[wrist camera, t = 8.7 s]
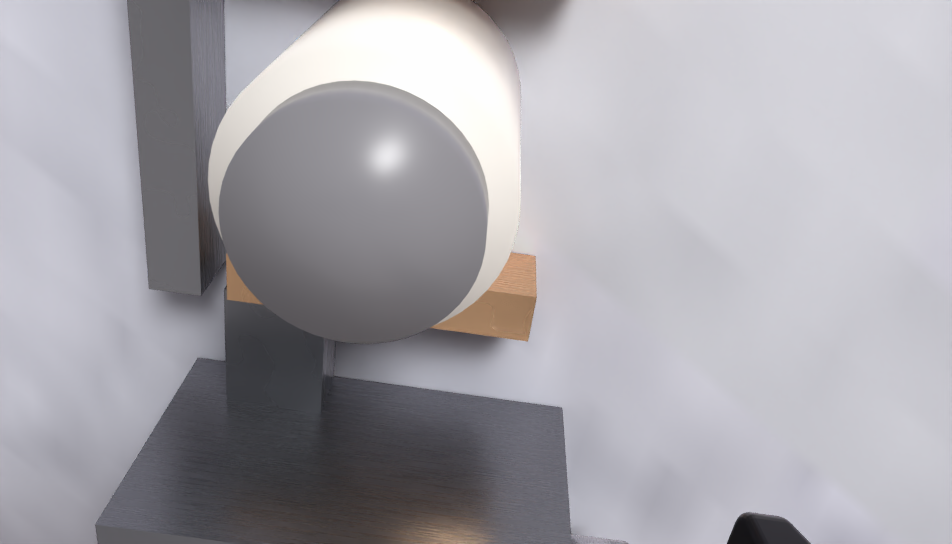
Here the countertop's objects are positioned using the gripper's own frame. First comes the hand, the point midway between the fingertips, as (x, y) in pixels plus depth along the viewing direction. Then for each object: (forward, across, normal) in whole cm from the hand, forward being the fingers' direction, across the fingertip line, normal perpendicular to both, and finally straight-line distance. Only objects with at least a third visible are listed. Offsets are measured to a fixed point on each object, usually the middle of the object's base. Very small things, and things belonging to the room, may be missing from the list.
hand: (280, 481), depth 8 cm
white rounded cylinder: (+12, 0, 0) cm, 12 cm away
